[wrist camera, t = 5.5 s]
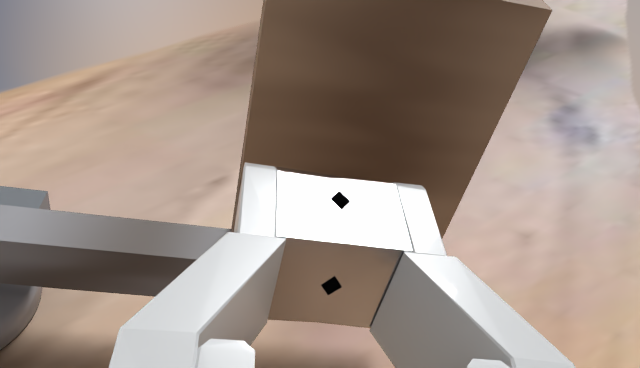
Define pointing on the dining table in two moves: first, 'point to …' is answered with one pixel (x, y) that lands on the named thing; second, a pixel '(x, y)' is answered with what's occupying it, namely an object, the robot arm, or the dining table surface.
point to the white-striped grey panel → (18, 300)
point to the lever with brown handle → (318, 127)
